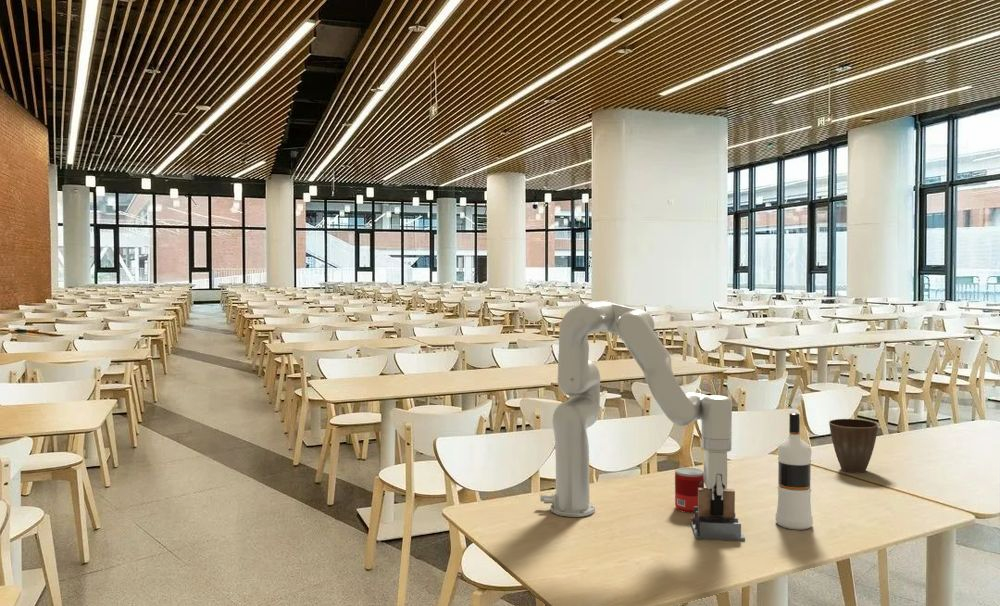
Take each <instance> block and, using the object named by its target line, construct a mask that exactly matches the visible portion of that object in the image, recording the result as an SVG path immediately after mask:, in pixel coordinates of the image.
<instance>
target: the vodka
mask: <svg viewBox="0 0 1000 606" xmlns="http://www.w3.org/2000/svg"><path fill="white" fill-rule="evenodd" d="M788 415H789V420H788V421H789V422H788V424H789V426H788V428H789V433H788V434H789V435H788V438H786V439H784V440H783V441H781V442H780V443H779V444H778V447H777V461H778V463H777V464H778V465H777V466H778V468H777V470H778V471H777V473H778V476H777V477H778V479H777V481H778V483H777V487H776V488H777V495H778V497H777V507H776V513H775V521H776V523H777V525H779V526H780V527H782V528H785V529H787V528H788V530H794V531H795V530H796V531H802V530H803V531H804V530H808V529H810V528H812V526H813V524H814V519H813V514H812V506H811V505H812V504H811V492H812V487H811V470H812V469H811V468H812V467H811V466H812V465H811V463H812V448H811V446H810V445H809V444H808V443H807V442H805V440H803V439H802V438H801V435H800V428H801V427H800V426H801V425H800V421H801V420H800V419H801V418H800V413H798V412H797V413H796V412H790V413H789V414H788Z"/></svg>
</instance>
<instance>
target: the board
mask: <svg viewBox="0 0 1000 606" xmlns="http://www.w3.org/2000/svg"><path fill="white" fill-rule="evenodd" d="M715 492H716V491H714V493H715ZM710 500H712V489H710V490H708V489H707V487H704V488H698V516H704V517H735V518H736V512H735V511H736V510H735V507H736V504H735V503H736V491H735V489H734V488H727V489H726V490H724V489H723V516H715V515H711V514H710Z"/></svg>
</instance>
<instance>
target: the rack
mask: <svg viewBox="0 0 1000 606" xmlns="http://www.w3.org/2000/svg"><path fill="white" fill-rule="evenodd" d="M689 520H690V521H689V523H690V525H691V529H692V531H693V534H694V538H695V539H696V540H703V539H711V541H730V540H731V542H732V541H733V542H734V541H735V542H737V541H738V542H746V537H745V535H744V533H743V531H742V523H741V522H739V517H736V516H735V517H704V516H698V506H694V513H693V518H690V519H689Z"/></svg>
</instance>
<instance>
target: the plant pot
mask: <svg viewBox="0 0 1000 606" xmlns="http://www.w3.org/2000/svg"><path fill="white" fill-rule="evenodd" d="M828 425H829V431H830V436H831V441H832V443H833V445H832V446H833V448H834V452H835V456H836V458H837V461H838V463H839V466H840V469H841V470H842V471H844V470H845V471H844V472H847V471H849V472H848V473H853V472H861V473H865V472H866V470H867V469H868V466H869V463H870V461H871V458H872V456H873V452H874V448H875V444H876V439H877V435H878V430H879V429H878V427H879V424H878V423H877V422H874V421H870V420H864V419H858V418H857V419H856V418H836V419H832V420H829V422H828Z"/></svg>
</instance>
